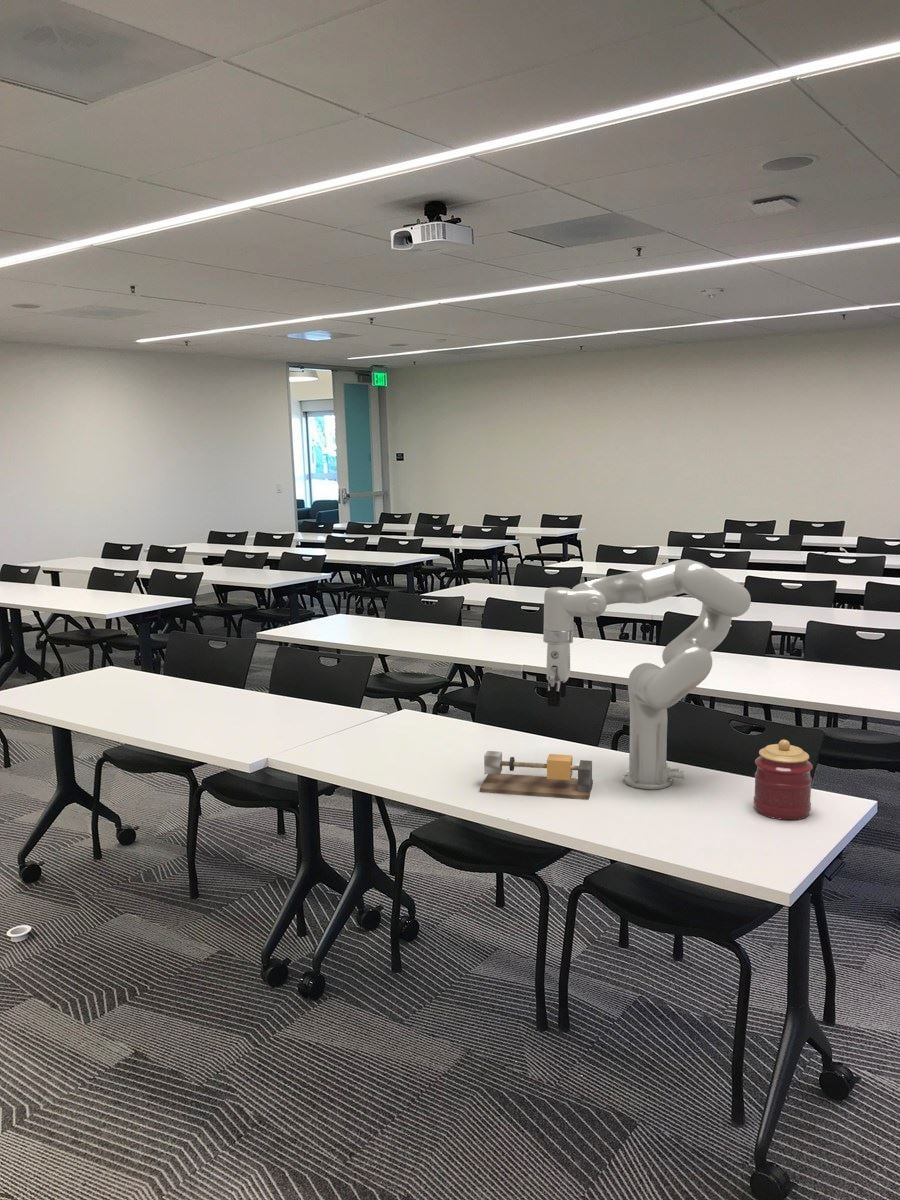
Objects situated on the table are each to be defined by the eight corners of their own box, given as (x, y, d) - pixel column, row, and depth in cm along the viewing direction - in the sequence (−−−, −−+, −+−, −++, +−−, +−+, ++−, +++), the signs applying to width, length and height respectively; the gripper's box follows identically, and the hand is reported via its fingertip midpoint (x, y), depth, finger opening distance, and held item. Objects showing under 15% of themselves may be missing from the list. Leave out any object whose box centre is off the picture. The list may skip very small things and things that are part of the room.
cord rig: (592, 783, 238) (593, 752, 237) (588, 799, 226) (588, 767, 225) (488, 776, 245) (488, 746, 243) (479, 791, 233) (479, 760, 232)
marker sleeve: (572, 773, 235) (572, 755, 234) (570, 780, 230) (570, 761, 230) (549, 772, 237) (549, 753, 236) (546, 778, 232) (546, 760, 231)
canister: (806, 824, 209) (809, 751, 206) (748, 815, 215) (750, 743, 212) (814, 806, 220) (817, 736, 217) (758, 797, 226) (761, 729, 223)
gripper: (568, 643, 220) (566, 711, 223) (577, 630, 237) (575, 694, 239) (537, 641, 222) (536, 708, 225) (549, 629, 239) (547, 692, 241)
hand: (556, 701), depth 232 cm, fingers open, 9 cm apart
